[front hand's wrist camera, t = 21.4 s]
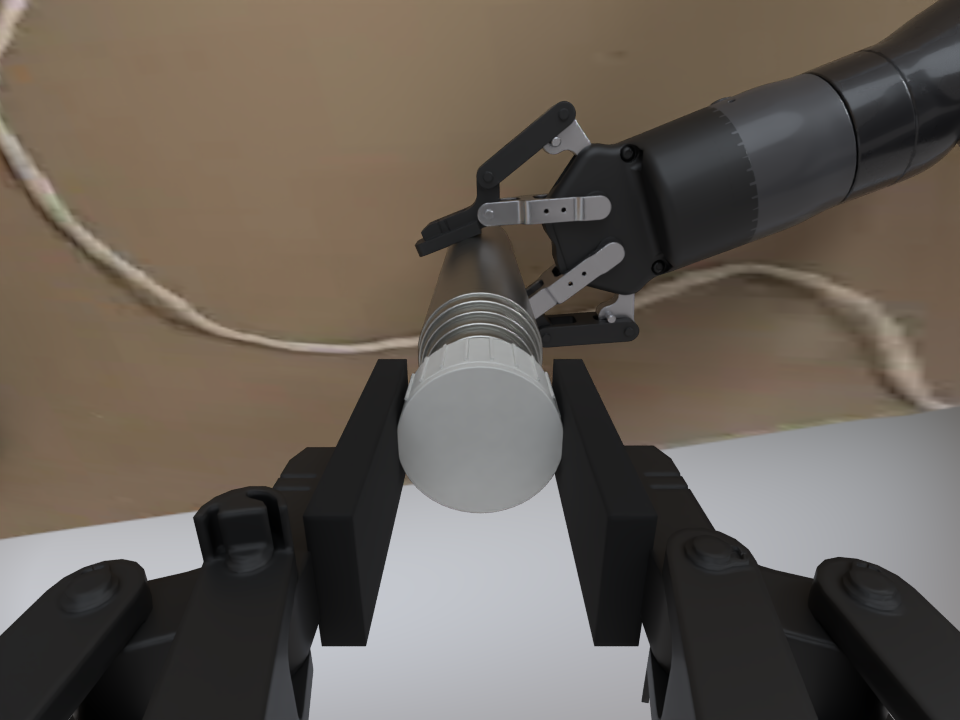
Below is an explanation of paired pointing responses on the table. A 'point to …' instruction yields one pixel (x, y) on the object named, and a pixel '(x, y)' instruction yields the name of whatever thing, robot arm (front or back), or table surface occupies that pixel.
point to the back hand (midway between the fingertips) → (437, 288)
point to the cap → (480, 426)
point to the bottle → (480, 298)
